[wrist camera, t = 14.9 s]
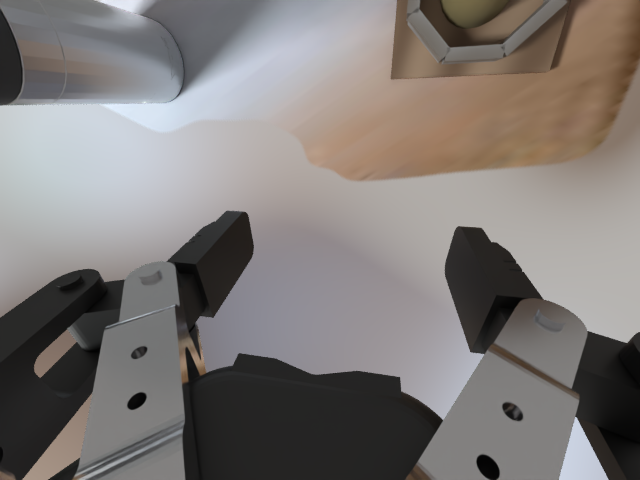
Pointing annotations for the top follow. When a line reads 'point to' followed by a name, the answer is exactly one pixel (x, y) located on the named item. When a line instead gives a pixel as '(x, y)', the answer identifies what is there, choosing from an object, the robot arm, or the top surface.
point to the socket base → (476, 40)
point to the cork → (471, 11)
